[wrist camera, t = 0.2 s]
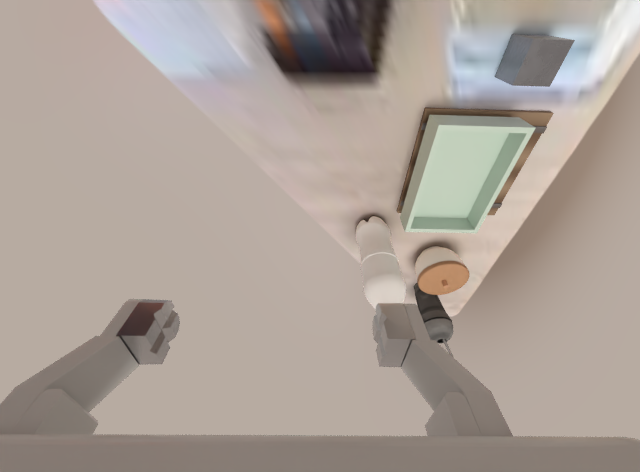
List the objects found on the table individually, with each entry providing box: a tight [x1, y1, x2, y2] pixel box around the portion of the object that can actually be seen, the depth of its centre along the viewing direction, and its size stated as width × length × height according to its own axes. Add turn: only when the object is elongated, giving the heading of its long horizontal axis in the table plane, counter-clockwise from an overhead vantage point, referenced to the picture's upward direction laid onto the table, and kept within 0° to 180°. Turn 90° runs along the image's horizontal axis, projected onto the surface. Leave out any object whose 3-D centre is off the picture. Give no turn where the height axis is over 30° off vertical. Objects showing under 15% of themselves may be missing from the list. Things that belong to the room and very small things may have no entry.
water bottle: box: [356, 216, 406, 310], centre depth 49 cm, size 7×7×25 cm
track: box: [397, 108, 553, 215], centre depth 48 cm, size 20×20×1 cm
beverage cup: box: [414, 283, 454, 358], centre depth 65 cm, size 7×7×20 cm
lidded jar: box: [415, 246, 469, 295], centre depth 61 cm, size 11×11×9 cm
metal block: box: [495, 34, 574, 87], centre depth 36 cm, size 5×5×5 cm
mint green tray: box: [400, 115, 535, 233], centre depth 46 cm, size 20×14×6 cm
